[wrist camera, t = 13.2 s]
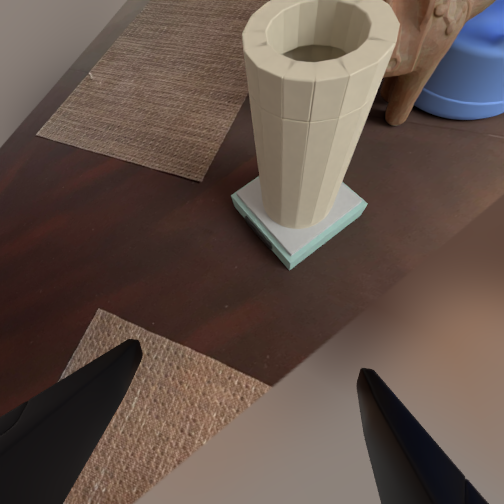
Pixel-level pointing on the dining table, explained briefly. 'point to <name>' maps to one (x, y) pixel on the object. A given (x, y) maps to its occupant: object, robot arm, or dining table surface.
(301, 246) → the scale
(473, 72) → the water jug
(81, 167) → the dining table surface
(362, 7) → the jar
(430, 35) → the figurine
